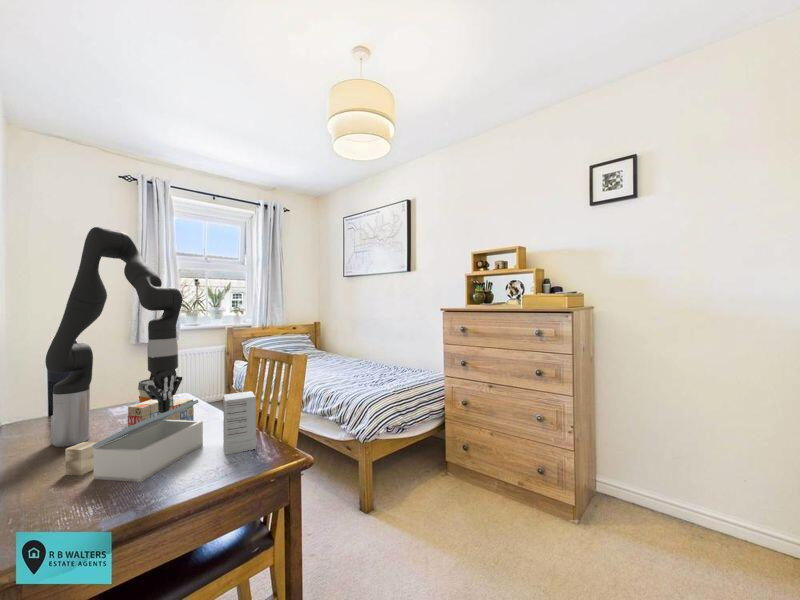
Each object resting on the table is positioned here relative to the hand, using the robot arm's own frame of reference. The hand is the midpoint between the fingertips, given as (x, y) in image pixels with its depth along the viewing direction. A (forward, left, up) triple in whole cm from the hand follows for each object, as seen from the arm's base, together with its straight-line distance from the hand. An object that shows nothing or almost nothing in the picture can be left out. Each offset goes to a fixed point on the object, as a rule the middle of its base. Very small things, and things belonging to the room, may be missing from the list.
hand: (164, 412), depth 106 cm
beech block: (-18, -8, -15) cm, 25 cm away
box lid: (-4, 0, -3) cm, 5 cm away
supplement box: (+17, +12, -15) cm, 25 cm away
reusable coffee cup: (-36, +38, -15) cm, 55 cm away
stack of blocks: (-20, +22, -15) cm, 34 cm away
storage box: (-3, 0, -15) cm, 15 cm away
